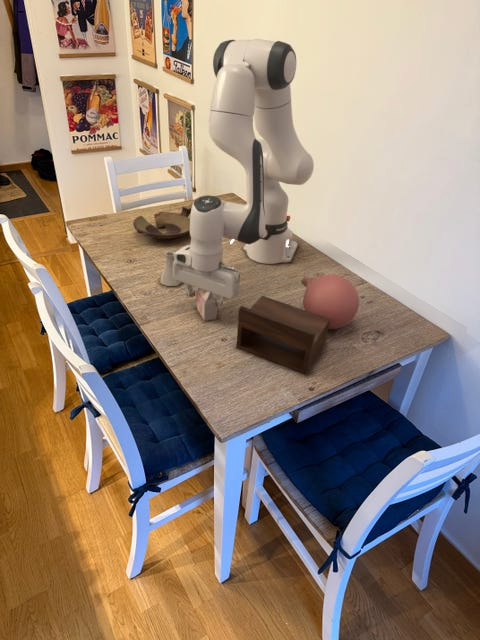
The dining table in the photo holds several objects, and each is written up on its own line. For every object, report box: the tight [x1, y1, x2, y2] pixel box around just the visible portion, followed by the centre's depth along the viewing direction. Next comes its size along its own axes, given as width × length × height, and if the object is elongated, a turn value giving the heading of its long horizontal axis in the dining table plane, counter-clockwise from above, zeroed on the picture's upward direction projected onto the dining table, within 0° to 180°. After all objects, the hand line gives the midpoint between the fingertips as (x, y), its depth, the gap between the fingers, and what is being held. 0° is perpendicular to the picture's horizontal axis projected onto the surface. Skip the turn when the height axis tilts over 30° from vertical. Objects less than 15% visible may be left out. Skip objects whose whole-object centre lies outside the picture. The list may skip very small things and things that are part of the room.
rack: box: [235, 295, 330, 376], centre depth 114 cm, size 14×20×13 cm
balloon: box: [301, 273, 360, 330], centre depth 125 cm, size 15×20×15 cm
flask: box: [160, 250, 183, 287], centre depth 139 cm, size 7×7×10 cm
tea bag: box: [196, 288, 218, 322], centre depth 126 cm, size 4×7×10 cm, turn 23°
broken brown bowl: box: [132, 201, 194, 239], centre depth 168 cm, size 22×30×8 cm
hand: (205, 301), depth 126 cm, fingers open, 8 cm apart
